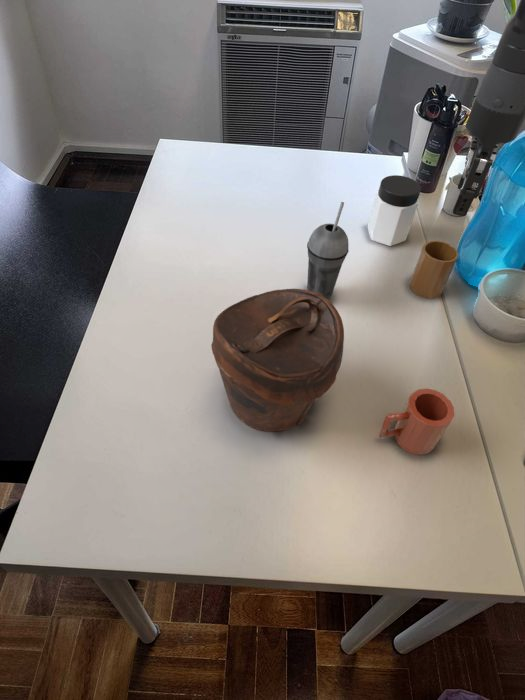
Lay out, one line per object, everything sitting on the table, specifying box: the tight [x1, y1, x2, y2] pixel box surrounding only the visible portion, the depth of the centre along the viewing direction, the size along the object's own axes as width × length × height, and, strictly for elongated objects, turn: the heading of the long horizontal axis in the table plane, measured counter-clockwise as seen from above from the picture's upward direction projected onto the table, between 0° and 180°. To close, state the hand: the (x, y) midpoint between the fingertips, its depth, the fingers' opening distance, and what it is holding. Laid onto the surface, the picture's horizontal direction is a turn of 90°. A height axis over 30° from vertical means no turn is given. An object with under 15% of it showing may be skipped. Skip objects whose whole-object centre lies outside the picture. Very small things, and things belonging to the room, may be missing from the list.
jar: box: [367, 174, 422, 247], centre depth 100 cm, size 9×8×12 cm
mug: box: [377, 388, 455, 456], centre depth 68 cm, size 9×6×8 cm, turn 99°
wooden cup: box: [409, 240, 459, 300], centre depth 90 cm, size 6×6×9 cm
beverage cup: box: [306, 201, 350, 301], centre depth 83 cm, size 7×7×20 cm
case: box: [210, 288, 345, 432], centre depth 68 cm, size 18×20×18 cm
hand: (461, 201), depth 79 cm, fingers open, 8 cm apart
